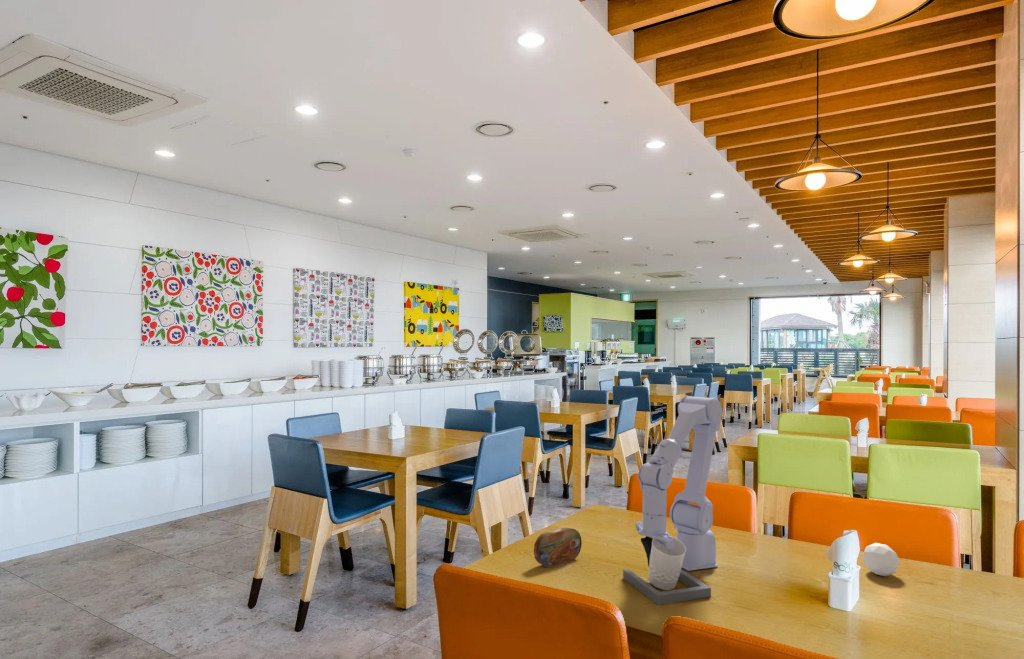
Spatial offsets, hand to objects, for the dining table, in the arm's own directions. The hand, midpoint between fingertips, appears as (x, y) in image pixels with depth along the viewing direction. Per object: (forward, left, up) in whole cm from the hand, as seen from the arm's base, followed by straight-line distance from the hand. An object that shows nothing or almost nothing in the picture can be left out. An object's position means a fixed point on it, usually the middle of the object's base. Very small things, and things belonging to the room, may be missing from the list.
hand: (653, 568), depth 141 cm
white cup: (0, +3, -2) cm, 4 cm away
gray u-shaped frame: (0, +4, -3) cm, 5 cm away
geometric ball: (-57, +14, -3) cm, 59 cm away
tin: (+18, -18, -3) cm, 26 cm away
